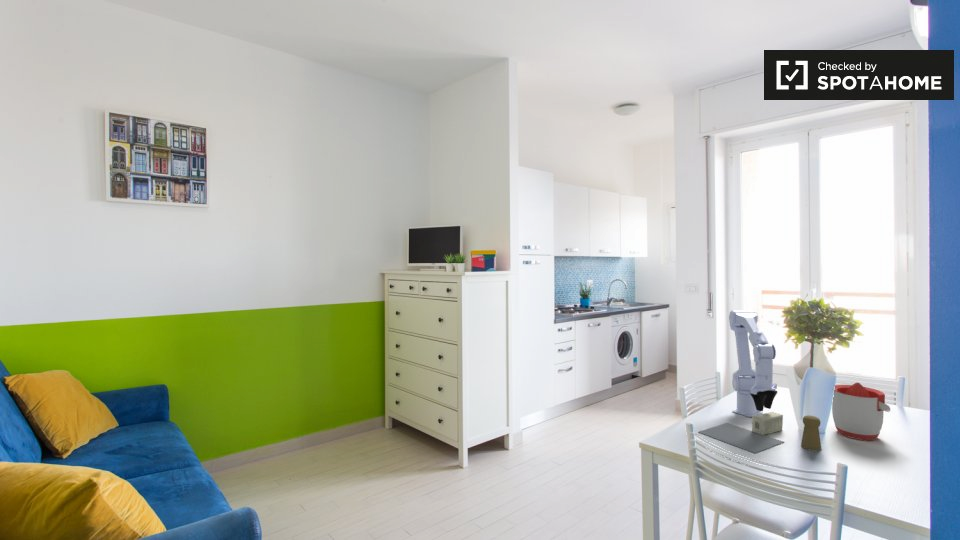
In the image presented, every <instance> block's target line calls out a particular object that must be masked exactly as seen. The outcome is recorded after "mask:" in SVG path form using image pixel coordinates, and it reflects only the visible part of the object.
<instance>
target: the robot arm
mask: <svg viewBox="0 0 960 540" xmlns="http://www.w3.org/2000/svg"><path fill="white" fill-rule="evenodd" d="M728 315H729V316H728V321H729V327H730V328H729V329H730V330H731V331H733V332H734V337H735V344H736V353H737V355H736V356H737V363H738V364H737V365H738V369H737V370H736V371H735V372H733V373H732V383H731V384H732V388H733V390H734V391H735V392H736V409H734V410H733V409H732V413H735V414H737V415H738V414H739V415H741V416H745V417H749V418H752V416H755V415H760V414H764V413H763V411H764V408H765V409H768V410H770V409H771V408H772V406H773V403H774V402H773V401H774V400H775V397H776V396H777V394H778V390H776V389H777V388H778V387H777V385H778V384H777V383H775V382H773V377H774V376H773V375H774V374H773V373H774V372H773V371H774V370H773V366H774V365H773V364H774V363H773V360H775V358H776V356H777V352H776V346H775V345H774V343H771V342H769V341H768V340H767V337H766V335H765V334H764V332H762V331H760V330H759V327H758V325H757V323H758V321H759V320H758V317H759V316H758V313H757V312H756V310H754V309H752V310H738V309H737V310H736V309H732V310H731V311H730V312H729V314H728ZM749 342H750V344H751V345H752V346H751V347H752V354H753V361H754V363H755V369H754V370H753V369H752V368H753V367H752V362H751V353H750V344H749Z"/></svg>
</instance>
